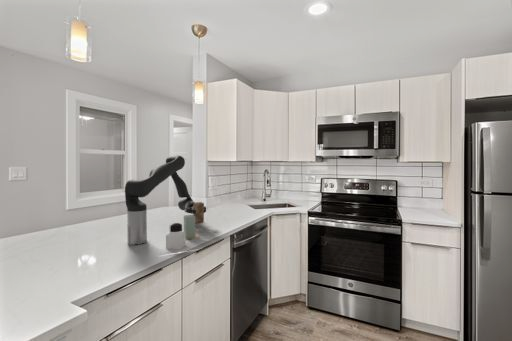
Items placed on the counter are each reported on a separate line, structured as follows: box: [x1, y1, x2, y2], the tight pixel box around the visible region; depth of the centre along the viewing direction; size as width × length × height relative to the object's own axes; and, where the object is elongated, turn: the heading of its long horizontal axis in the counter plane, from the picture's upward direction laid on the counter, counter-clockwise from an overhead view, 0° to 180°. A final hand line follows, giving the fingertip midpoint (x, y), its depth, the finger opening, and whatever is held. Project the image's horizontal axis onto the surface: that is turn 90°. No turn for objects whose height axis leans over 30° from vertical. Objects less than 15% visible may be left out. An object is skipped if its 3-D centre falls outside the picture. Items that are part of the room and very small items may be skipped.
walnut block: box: [192, 201, 205, 225], centre depth 157 cm, size 5×5×12 cm
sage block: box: [183, 214, 196, 239], centre depth 143 cm, size 5×5×12 cm
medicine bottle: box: [165, 222, 186, 250], centre depth 128 cm, size 7×7×12 cm
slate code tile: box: [195, 226, 210, 234], centre depth 158 cm, size 10×10×1 cm
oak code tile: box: [185, 233, 201, 242], centre depth 143 cm, size 10×10×1 cm
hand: (199, 211), depth 155 cm, fingers closed on walnut block, 5 cm apart
